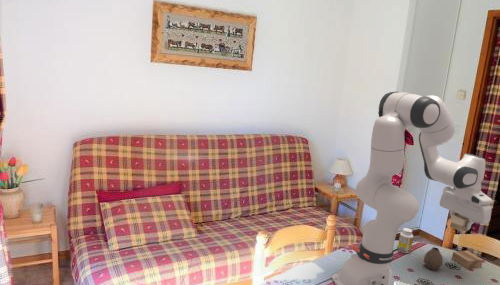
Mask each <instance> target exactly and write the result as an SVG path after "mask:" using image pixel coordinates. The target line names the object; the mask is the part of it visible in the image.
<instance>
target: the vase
mask: <svg viewBox="0 0 500 285" xmlns="http://www.w3.org/2000/svg"><path fill="white" fill-rule="evenodd" d="M423 262H424V265H425V267H426V268H427V269H429V270H432V271H437V270H439V269H440V268H441V267H442V265H443V262H444V258H443V255H442V254H441V252H440V249H439V248H438V247H435V246H433V247H432V248H430V249H429V250H428V251H427V252H426V253H425V255H424V259H423Z"/></svg>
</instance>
